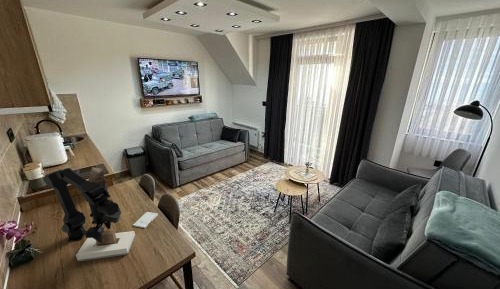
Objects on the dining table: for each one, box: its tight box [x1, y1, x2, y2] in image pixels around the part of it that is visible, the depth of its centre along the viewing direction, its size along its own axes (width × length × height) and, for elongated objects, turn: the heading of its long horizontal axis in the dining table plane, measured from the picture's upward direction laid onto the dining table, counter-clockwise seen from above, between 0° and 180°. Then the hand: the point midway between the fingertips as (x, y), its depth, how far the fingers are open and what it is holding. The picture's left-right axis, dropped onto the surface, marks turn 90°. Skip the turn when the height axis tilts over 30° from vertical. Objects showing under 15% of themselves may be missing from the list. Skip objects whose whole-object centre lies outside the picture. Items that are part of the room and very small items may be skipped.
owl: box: [88, 166, 108, 197], centre depth 150 cm, size 13×13×20 cm
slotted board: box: [75, 230, 136, 262], centre depth 106 cm, size 22×12×4 cm, turn 102°
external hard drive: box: [132, 211, 159, 229], centre depth 127 cm, size 2×8×12 cm
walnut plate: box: [96, 229, 117, 246], centre depth 105 cm, size 8×2×9 cm, turn 102°
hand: (105, 235), depth 104 cm, fingers open, 9 cm apart
